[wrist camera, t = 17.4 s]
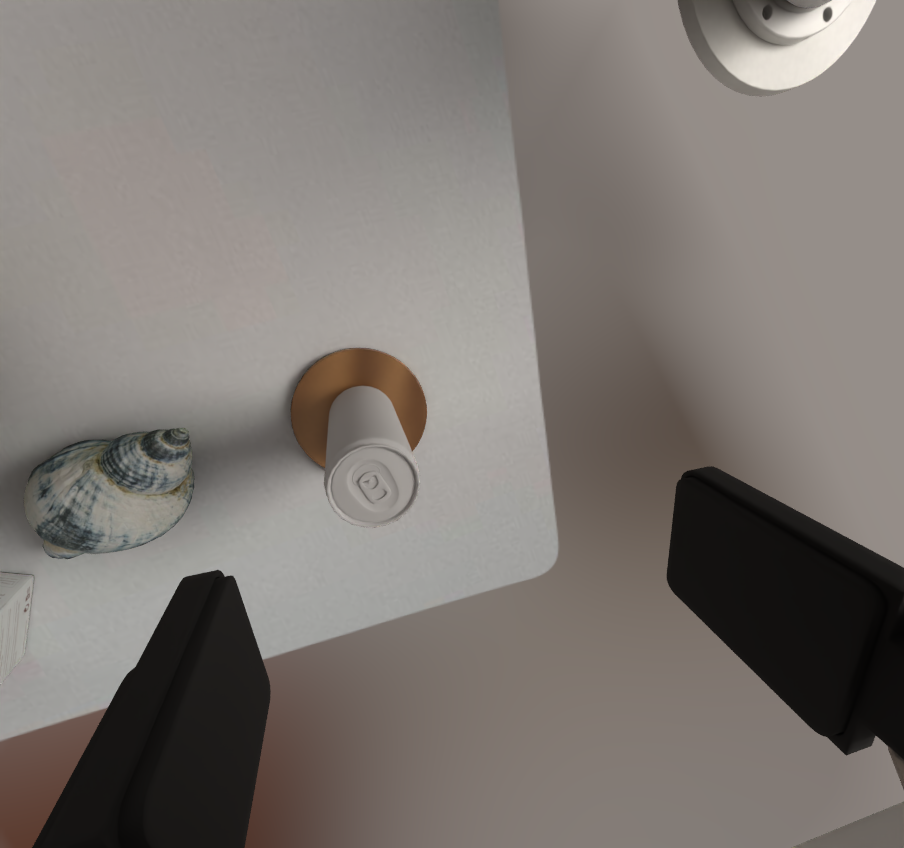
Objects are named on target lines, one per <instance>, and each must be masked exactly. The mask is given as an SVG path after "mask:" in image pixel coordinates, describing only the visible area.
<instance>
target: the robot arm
mask: <svg viewBox="0 0 904 848" xmlns="http://www.w3.org/2000/svg"><path fill="white" fill-rule="evenodd" d="M732 1H733V3H734V5H735V7H736V10H737V12H738V14H739V16H740V17H741V19H742V20H743V21H744V23H745V24H746V26H747V27H748V28H749V29H750V30H751V31H752V32H753V33H754V34H755V35H757V36H758V37H759V38H761V39H763V40H765V41H767V42H769V43H773V44H779V45H787V44H795V43H798V42H800V41H803V40H805V39H808V38H810V37H812V36H813V35H815V34H817V33H819V32H821V31H823V30H824V29H826V28H827V27H828V26H829V25H831V24H832V23H833V22H834V21H835V20H837V19H838V18H839V16H840V15H841V14H842V13H843V12H844V11H845V9H846V8H847V7H848V6H849V5H850V3H851V1H852V0H732ZM667 581H668V584H669V586H670V588H671V590H672V591H673V592H674V594H675V595H676V596H677V597H678V598H680V599H681V600H682V601H683V602H684V603H685V604H686V605H687V606H688V607H689V608H690V609H691V610H692V611H693V612H694V613H695V614H696V615H697V616H698V617H699V618H700V619H701V620H702V621H703V622H704V623H705V624H706V625H707V626H708V627H709V628H710V629H711V630H712V631H713V632H714V633H715V634H716V635H717V636H718V637H719V638H720V639H721V640H722V641H723V642H724V643H725V644H726V645H727V646H728V647H729V648H730V649H731V650H733V652H734V653H735V654H736V655H737V656H738V657H740V659H742V661H744V662H745V663H746V664H747V665H748V666H749V667H750V668H751V669H752V670H753V671H754V672H755V673H756V674H757V675H758V676H759V677H760V678H761V679H762V680H763V681H764V682H765V683H766V684H767V685H768V686H769V687H770V688H771V689H772V690H773V691H774V692H775V693H776V694H777V695H778V696H779V697H780V698H781V699H782V700H783V701H784V702H785V703H786V704H787V705H788V706H789V707H790V708H791V709H792V710H793V711H794V712H795V713H796V714H797V715H798V716H799V717H801V719H802V720H803V721H805V723H807V725H809V726H810V727H811V728H812V729H813V730H814V731H815V732H817V733H818V734H820V735H822V736H826V737H828V738H829V739H830V740H831V741H832V742H833V743H834V744H835V745H836V746H837V747H838V748H839V749H840V750H841V751H842V752H843V753H844V754H845V755H848V754H851V753H854V752H857V751H859V750H861V749H864V748H867V747H870V746H871V745H872V743H873V741H874V738H875V736H877V737H878V738H880V739H881V740H882V741H883V742H884V743H885V744H886V745H887V746H888V750H889V753H890V755H891V758H892V760H893V763H894V766H895V768H896V771H897V773H898V776H899V778H900V781H901V783H902V786H903V789H904V568H903V567H901V566H899V565H898V564H896V563H894V562H892V561H890V560H888V559H886V558H884V557H883V556H881V555H879V554H876V553H875V552H873V551H871V550H869V549H867V548H865V547H864V546H862V545H860V544H858V543H856V542H854V541H853V540H851V539H849V538H847V537H845V536H843V535H841V534H839V533H837V532H836V531H834V530H832V529H830V528H828V527H826V526H824V525H823V524H821V523H819V522H817V521H815V520H813V519H811V518H810V517H808V516H806V515H804V514H802V513H800V512H798V511H796V510H794V509H793V508H791V507H789V506H787V505H785V504H783V503H781V502H779V501H778V500H776V499H774V498H772V497H770V496H768V495H766V494H765V493H763V492H761V491H759V490H757V489H755V488H753V487H752V486H750V485H748V484H746V483H744V482H742V481H740V480H738V479H736V478H735V477H733V476H731V475H729V474H727V473H725V472H723V471H721V470H720V469H718V468H715V467H704V468H700V469H695V470H690V471H687V472H685V473H684V474H683V475H682V478H681V480H679V481H678V483H677V486H676V494H675V503H674V513H673V522H672V532H671V540H670V549H669V558H668V568H667ZM269 703H270V683H269V678H268V675H267V672H266V669H265V666H264V663H263V660H262V657H261V654H260V651H259V648H258V645H257V642H256V639H255V636H254V633H253V630H252V628H251V625H250V622H249V619H248V616H247V613H246V610H245V607H244V604H243V601H242V598H241V595H240V592H239V589H238V586H237V583H236V580H235V578H234V577H233V576H226V577H225V576H224V574H223V573H222V572H221V571H219V570H216V571H211V572H206V573H201V574H197V575H192V576H187V577H185V578H183V579H182V581H181V582H180V584H179V586H178V587H177V589H176V591H175V593H174V595H173V597H172V599H171V601H170V603H169V605H168V606H167V608H166V610H165V612H164V614H163V616H162V618H161V620H160V622H159V624H158V625H157V627H156V629H155V631H154V633H153V635H152V637H151V639H150V641H149V643H148V644H147V646H146V648H145V650H144V652H143V654H142V656H141V658H140V660H139V662H138V663H137V665H136V667H135V668H134V669H133V670H131V671H130V672H129V673H128V674H127V675H126V677H125V678H124V680H123V681H122V683H121V685H120V686H119V688H118V690H117V692H116V694H115V696H114V697H113V699H112V701H111V703H110V705H109V707H108V709H107V710H106V712H105V714H104V716H103V718H102V720H101V722H100V723H99V725H98V727H97V729H96V731H95V733H94V735H93V737H92V738H91V740H90V742H89V744H88V746H87V748H86V750H85V751H84V753H83V755H82V757H81V759H80V760H79V762H78V764H77V766H76V768H75V770H74V772H73V773H72V775H71V777H70V779H69V781H68V783H67V784H66V786H65V788H64V790H63V792H62V794H61V796H60V797H59V799H58V801H57V803H56V805H55V807H54V808H53V811H52V812H51V814H50V816H49V818H48V820H47V822H46V824H45V825H44V827H43V829H42V831H41V833H40V835H39V836H38V838H37V840H36V842H35V844H34V846H33V847H32V848H244V847H245V841H246V835H247V830H248V824H249V818H250V813H251V806H252V801H253V795H254V790H255V784H256V778H257V772H258V766H259V761H260V755H261V749H262V743H263V737H264V732H265V726H266V720H267V714H268V709H269ZM792 848H904V802H902V803H899V804H897V805H894V806H892V807H890V808H887V809H885V810H883V811H880V812H877V813H875V814H872V815H870V816H867V817H865V818H863V819H860V820H858V821H855V822H853V823H850V824H848V825H845V826H843V827H840V828H838V829H836V830H833V831H831V832H828V833H826V834H823V835H821V836H819V837H816V838H814V839H811V840H809V841H806V842H804V843H802V844H799V845H797V846H794V847H792Z"/></svg>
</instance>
